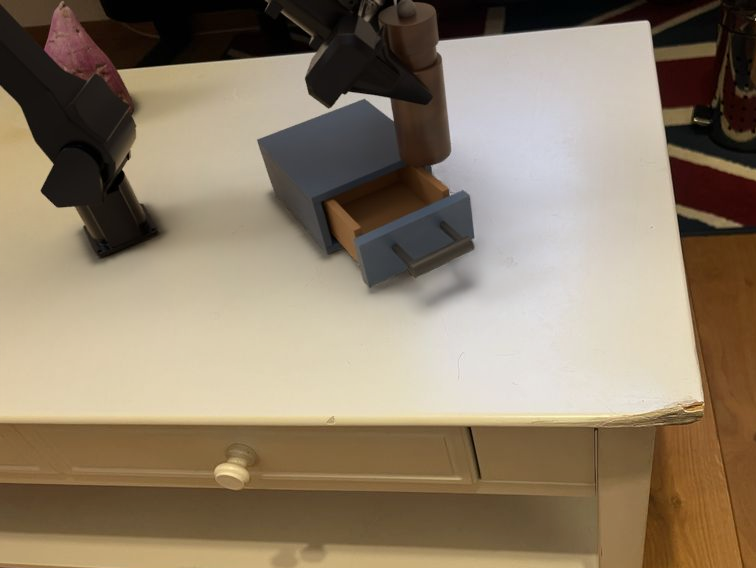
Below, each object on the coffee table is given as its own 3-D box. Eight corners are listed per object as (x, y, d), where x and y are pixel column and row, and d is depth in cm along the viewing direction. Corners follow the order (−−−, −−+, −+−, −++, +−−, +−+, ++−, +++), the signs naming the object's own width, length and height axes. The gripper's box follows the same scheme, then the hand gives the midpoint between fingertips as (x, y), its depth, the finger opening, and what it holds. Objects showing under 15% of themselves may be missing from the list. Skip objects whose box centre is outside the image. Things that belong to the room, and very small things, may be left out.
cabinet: (437, 205, 75) (429, 148, 70) (327, 254, 71) (311, 198, 66) (375, 152, 83) (364, 98, 79) (274, 193, 79) (256, 139, 74)
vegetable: (113, 113, 103) (80, -4, 96) (153, 120, 98) (122, -4, 90) (38, 129, 96) (-4, 4, 89) (78, 138, 91) (37, 5, 83)
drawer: (501, 261, 66) (498, 218, 63) (393, 315, 63) (383, 272, 59) (409, 181, 77) (402, 141, 73) (312, 223, 73) (299, 183, 70)
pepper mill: (430, 172, 67) (410, 16, 57) (388, 158, 69) (362, 5, 59) (461, 146, 70) (447, -7, 60) (420, 134, 72) (400, -16, 62)
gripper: (313, -89, 47) (494, 67, 54) (348, -158, 59) (490, -25, 67) (231, 43, 53) (403, 166, 60) (279, -46, 66) (416, 64, 73)
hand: (431, 86), depth 65 cm, fingers closed on pepper mill, 5 cm apart
